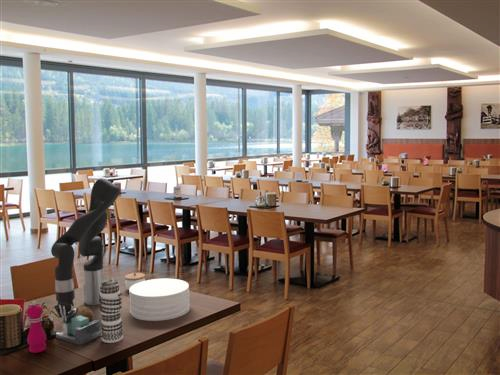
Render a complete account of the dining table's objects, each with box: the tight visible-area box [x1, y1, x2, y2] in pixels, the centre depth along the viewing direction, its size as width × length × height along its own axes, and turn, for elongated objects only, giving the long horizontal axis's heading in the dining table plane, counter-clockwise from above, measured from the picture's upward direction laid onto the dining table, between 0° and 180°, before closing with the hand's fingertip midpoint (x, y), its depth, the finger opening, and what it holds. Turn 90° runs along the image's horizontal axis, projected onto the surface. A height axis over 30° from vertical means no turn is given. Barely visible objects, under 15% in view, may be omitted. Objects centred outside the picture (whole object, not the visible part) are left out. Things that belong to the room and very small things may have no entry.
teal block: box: [71, 316, 90, 335], centre depth 230 cm, size 6×4×7 cm, turn 57°
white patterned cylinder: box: [99, 278, 124, 344], centre depth 227 cm, size 9×9×25 cm
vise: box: [55, 319, 102, 346], centre depth 231 cm, size 15×11×6 cm
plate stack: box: [128, 277, 191, 322], centre depth 261 cm, size 28×28×12 cm
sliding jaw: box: [62, 315, 82, 335], centre depth 232 cm, size 2×9×6 cm, turn 147°
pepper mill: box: [26, 300, 48, 354], centre depth 218 cm, size 7×7×20 cm
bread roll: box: [75, 305, 94, 322], centre depth 251 cm, size 10×10×8 cm
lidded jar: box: [124, 271, 146, 290], centre depth 294 cm, size 11×11×9 cm
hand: (67, 327), depth 235 cm, fingers closed
